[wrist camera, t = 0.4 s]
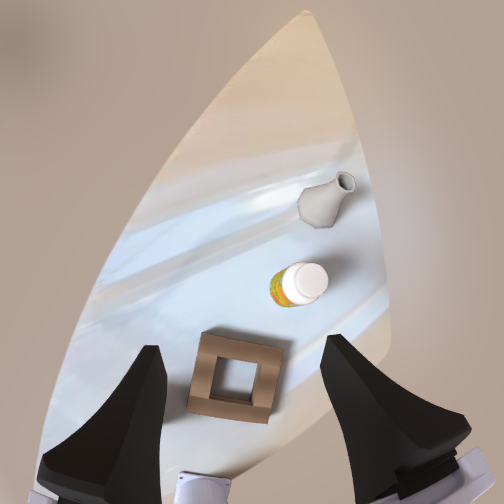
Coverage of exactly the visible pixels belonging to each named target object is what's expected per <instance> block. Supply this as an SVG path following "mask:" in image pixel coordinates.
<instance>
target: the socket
mask: <svg viewBox="0 0 504 504" xmlns="http://www.w3.org/2000/svg"><path fill="white" fill-rule="evenodd" d="M283 351H284V349H282V348H278V347H272V346H266V345H261V344H255V343H250V342H245V341H240V340H235V339H230V338H225V337H220V336H216V335H211V334H207V333H201V338H200V342H199V347H198V352H197V357H196V362H195V367H194V372H193V377H192V382H191V387H190V392H189V397H188V402H187V411H186V412H189V413H194V414H199V415H205V416H210V417H216V418H223V419H229V420H236V421H244V422H253V423H263V424H268V419H269V415H270V411H271V407H272V402H273V398H274V394H275V389H276V385H277V380H278V375H279V371H280V366H281V361H282V356H283ZM217 356H219V357H224V358H230V359H235V360H240V361H246V362H252V363H258V365H257V370H256V374H255V379H254V384H253V388H252V393H251V397H250V401H246V400H239V399H233V398H226V397H221V396H215V395H210V390H211V385H212V380H213V375H214V370H215V366H216V361H217Z"/></svg>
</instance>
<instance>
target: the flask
mask: <svg viewBox="0 0 504 504" xmlns="http://www.w3.org/2000/svg"><path fill="white" fill-rule="evenodd" d="M355 188H356V182H355V179H354V177H353V176H352V175H350V174H349V173H347V172H338V174H337V176H336V178H335V179H334V180H333V181H331V182H329V183H327V184H323V185H319V186H315V187H310V188H305V189H304V190H303V192H302V194H301V196H300V197H299V199H298V201H297V204H298V209H299V214H300V219H302V220H303V221H305V222H306V223H308V224H309V225H311V226H313V227H314V228H331V227H332V225H333V222H334V220H335V218H336V216H337V213H338V211H339V207H340V204H341V202H342V200H343V199H344V198H345V196H346V195H347V194H349V193H353V192H354V190H355Z"/></svg>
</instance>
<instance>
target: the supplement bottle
mask: <svg viewBox="0 0 504 504" xmlns="http://www.w3.org/2000/svg"><path fill="white" fill-rule="evenodd" d="M327 286H328V276H327V273H326V271H325V270H324V268H323V267H321V266H320V265H318V264H315V263H307V262H298V263H295V264H293V265H291V266H289V267H287V268H286V269H284V270H282V271H280V272H278V273H277V274H276V275H274V276H273V278H272V279H271V281H270V284H269V293H270V296H271V298H272V300H273V301H274V302H275V303H276V304H277V305H279V306H282V307H296V306H302V305H308V304H311V303H313V302H315V301H316V300H317V299H318V298H319V297H320V295H322V294H323V293H324V292H325V290H326V289H327Z"/></svg>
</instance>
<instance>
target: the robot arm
mask: <svg viewBox="0 0 504 504" xmlns="http://www.w3.org/2000/svg"><path fill="white" fill-rule="evenodd" d="M320 369H321V373H322V377H323V381H324V385H325V388H326V390H327V393H328V395H329V398H330V400H331V403H332V405H333V408H334V410H335V413H336V415H337V417H338V420H339V423H340V426H341V429H342V431H343V435H344V439H345V443H346V447H347V451H348V456H349V460H350V465H351V471H352V477H353V484H354V492H355V503H356V504H470V503H472V502H473V501H474V500H475V499H476V498H478V497H479V496H480V495H481V494H483V493H484V492H485V491H486V490H488V489H489V488H490V487H491V486H492V485H494V484H495V482H496V481H495V478H494V476H493V474H492V472H491V470H490V468H489V466H488V465H487V463H486V461H485V459H484V457H483V455H482V453H481V451H480V450H479V448H478V447H475V448H474V449H472V450H471V451H469V452H468V453H466V454H465V455H463V456H462V457H460V458H459V459H457V460H456V459H455V457H454V456H455V455H457V452H456V450H455V447H456V446H458V445H459V444H460V443H461V442H462V441H463V440H464V439H465V438H466V437H467V436H468V435H469V434H470V432H471V429H472V428H471V426H470V425H469V423H468V422H467V420H466V418H465V417H464V415H462V414H459V413H456V412H453V411H449V410H446V409H444V408H441V407H439V406H436V405H434V404H432V403H430V402H428V401H425V400H424V399H422V398H420V397H418V396H416V395H414V394H412V393H411V392H409V391H407V390H406V389H404V388H403V387H401V386H400V385H398V384H397V383H395V382H394V381H393V380H391V379H390V378H389V377H387V376H386V375H385V374H384V373H382V372H381V371H380V370H379V369H377V368H376V367H375V366H374V365H373V364H372V363H371V362H370V361H368V360H367V359H366V358H365V357H364V356H363V355H362V354H361V353H360V352H359V351H358V350H357V349H356V348H355V347H354V346H352V345H351V344H350V343H349V342H348V341H347V340H346V339H345V338H344V337H343V336H342V335H341V334H336V335H328V336H327V340H326V344H325V348H324V352H323V356H322V360H321V364H320ZM166 396H167V373H166V370H165V367H164V363H163V360H162V356H161V353H160V349H159V346H158V345H145V346H144V347H143V348H142V349H141V351H140V353H139V354H138V356H137V358H136V359H135V361H134V362H133V364H132V366H131V367H130V369H129V370H128V372H127V373H126V375H125V376H124V378H123V379H122V381H121V382H120V383H119V385H118V386H117V387H116V389H115V390H114V391H113V393H112V394H111V395H110V397H109V398H108V399H107V400H106V402H105V403H104V404H103V405H102V406H101V407H100V409H99V410H98V411H97V412H96V413H95V414H94V415H93V416H92V417H91V418H90V419H89V420H88V421H87V422H86V423H85V424H84V425H83V426H82V427H81V428H79V429H78V430H77V431H76V432H75V433H73V434H72V435H71V436H70V437H68V438H67V439H66V440H65V441H63V442H62V443H60V444H59V445H57V446H56V447H54V448H53V449H51V450H49V451H48V452H46V453H45V454H43V456H42V459H41V462H40V466H39V470H38V475H37V482H38V483H39V484H40V485H42V486H43V487H45V488H46V489H48V490H50V491H51V492H53V493H54V494H56V495H58V496H59V499H58V501H57V500H54V499H52V498H50V497H47V496H45V495H42V494H40V493H38V492H35V491H33V490H30V493H29V498H28V503H27V504H162V500H161V488H160V465H159V451H160V437H161V430H162V423H163V416H164V410H165V403H166ZM180 477H183V478H180ZM227 483H229V484H227ZM230 486H231V480H230V479H226V478H216V477H209V476H201V475H195V474H189V473H183V472H180V473H179V474H178V479H177V486H176V492H175V498H174V504H228V502H227V498H228V494H229V490H230Z"/></svg>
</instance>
